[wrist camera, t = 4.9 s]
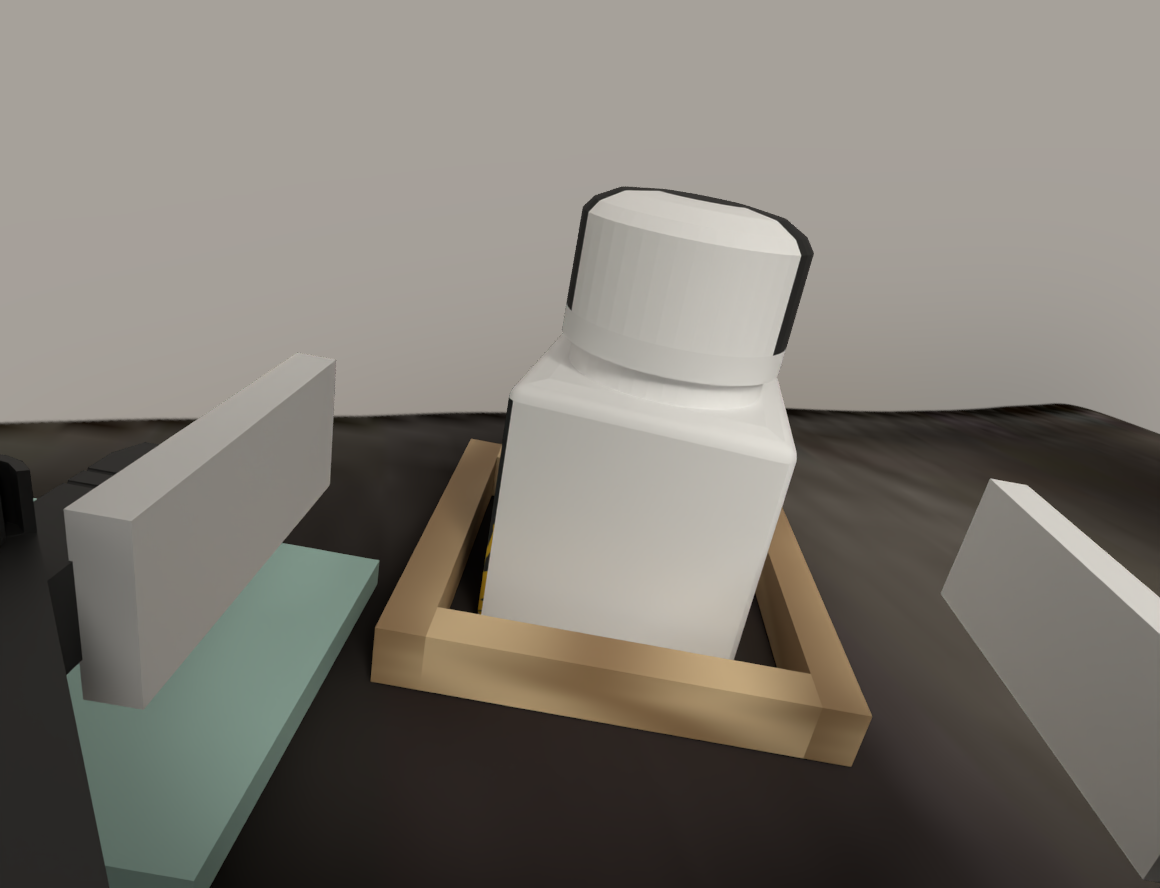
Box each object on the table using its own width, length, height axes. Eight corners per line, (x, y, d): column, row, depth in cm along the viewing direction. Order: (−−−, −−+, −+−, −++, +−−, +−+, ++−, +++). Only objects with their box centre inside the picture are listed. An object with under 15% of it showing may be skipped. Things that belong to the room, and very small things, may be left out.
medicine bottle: (532, 513, 27) (591, 169, 23) (725, 560, 27) (826, 215, 22) (472, 626, 21) (538, 174, 16) (726, 692, 20) (869, 240, 15)
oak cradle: (765, 531, 29) (776, 494, 29) (851, 766, 18) (872, 716, 18) (466, 476, 29) (471, 438, 28) (370, 681, 18) (375, 627, 17)
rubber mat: (377, 583, 22) (379, 560, 21) (194, 913, 12) (193, 880, 12) (-69, 503, 22) (-74, 478, 21) (-592, 778, 12) (-613, 741, 12)
